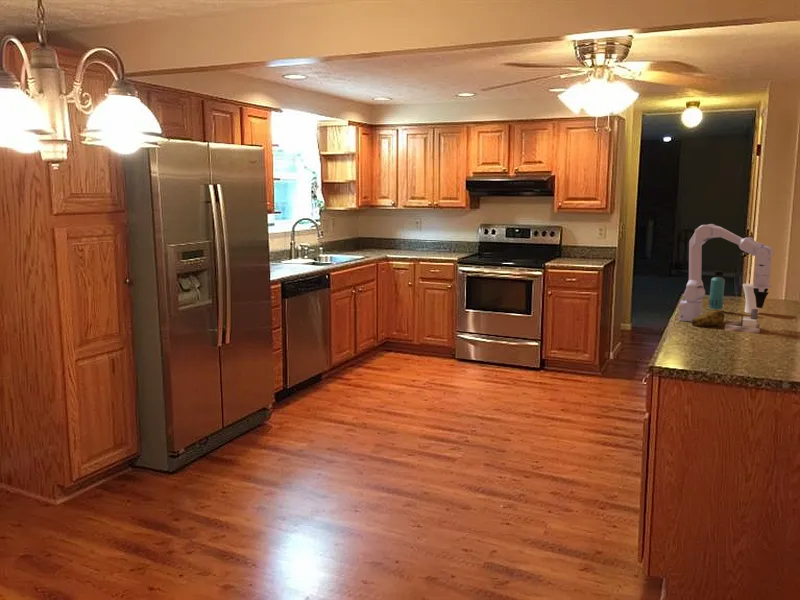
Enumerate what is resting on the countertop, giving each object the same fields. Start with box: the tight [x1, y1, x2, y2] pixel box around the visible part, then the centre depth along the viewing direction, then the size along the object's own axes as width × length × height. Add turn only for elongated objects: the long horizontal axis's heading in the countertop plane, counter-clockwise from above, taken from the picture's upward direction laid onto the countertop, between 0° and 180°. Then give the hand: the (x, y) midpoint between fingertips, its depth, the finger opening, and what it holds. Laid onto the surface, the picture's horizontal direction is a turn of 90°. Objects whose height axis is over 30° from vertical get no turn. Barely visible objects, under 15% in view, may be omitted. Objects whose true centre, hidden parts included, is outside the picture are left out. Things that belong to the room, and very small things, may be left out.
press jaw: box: [740, 309, 759, 328], centre depth 283 cm, size 6×9×8 cm, turn 152°
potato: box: [691, 309, 726, 328], centre depth 290 cm, size 8×13×8 cm, turn 68°
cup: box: [742, 282, 760, 314], centre depth 325 cm, size 10×10×14 cm
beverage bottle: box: [708, 270, 726, 310], centre depth 327 cm, size 6×7×20 cm
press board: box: [724, 319, 761, 335], centre depth 285 cm, size 13×14×3 cm
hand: (759, 306), depth 286 cm, fingers open, 7 cm apart
